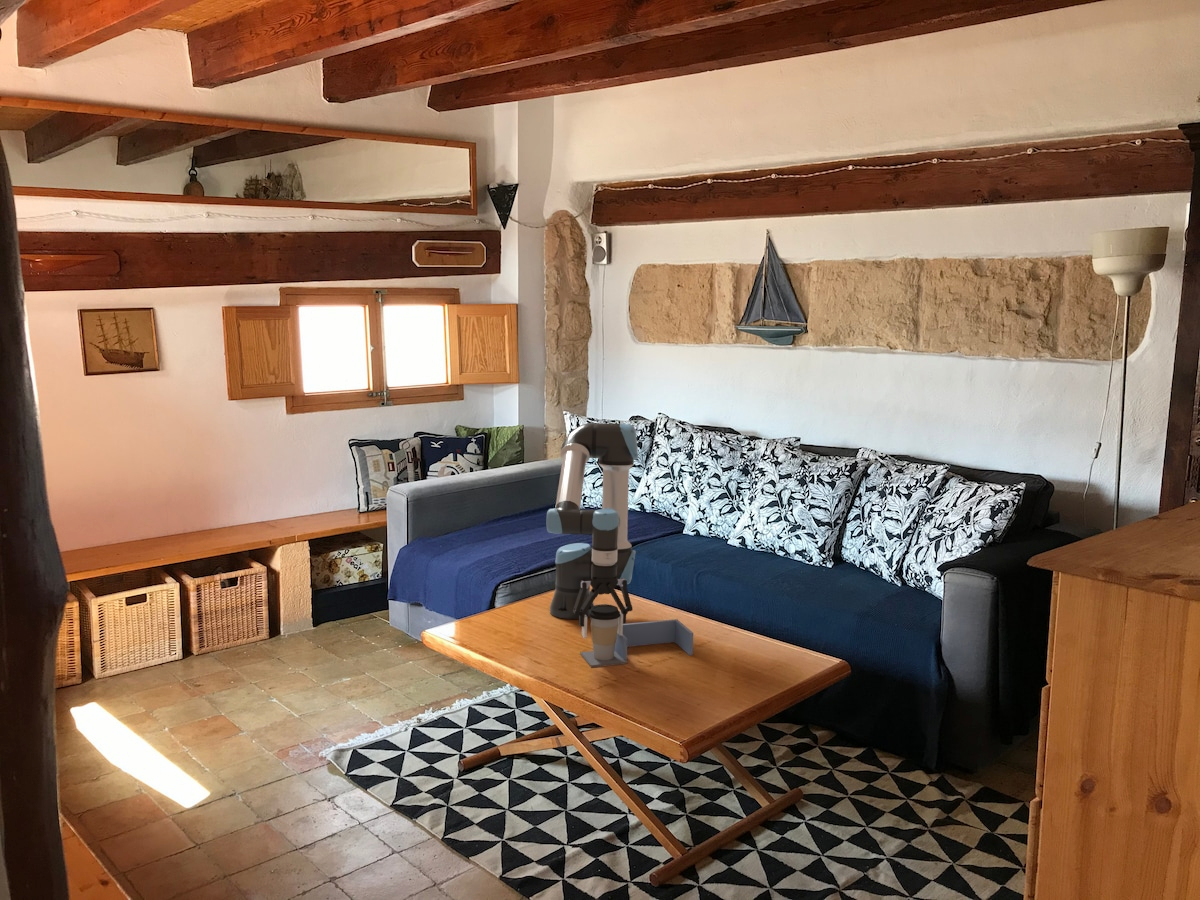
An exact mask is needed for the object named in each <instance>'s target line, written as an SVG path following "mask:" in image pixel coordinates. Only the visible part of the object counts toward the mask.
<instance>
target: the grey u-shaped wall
mask: <svg viewBox="0 0 1200 900" xmlns="http://www.w3.org/2000/svg"><path fill="white" fill-rule="evenodd" d="M669 643H675V644H676V645H677V646H678V647H680V648H681V650H683V651H684V652H685V653H686V654H687V655H688V656H693V655H694V632H693V631H692V630H690V629H689V628H688V627H687V626H686V625H685V624H684V623H682V622H681V621H680V620H679V619H678V618H677V619H666V620H653V621H642V622H631V623H630V622H629V623H625V624H623V636H620V635H619V634H618V633H617V639H616V643H615V651H616V652H617V653H618V655H619V656H620V657H621V658H622V659H623V660H626V661H627V662H628V647H637V646H647V645H658V644H669Z"/></svg>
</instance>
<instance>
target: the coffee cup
mask: <svg viewBox="0 0 1200 900" xmlns="http://www.w3.org/2000/svg"><path fill="white" fill-rule="evenodd" d="M620 612H621V611H619V607H618V606H616V605H612V604H605V603H603V604H594V606H593V607H592V608H591V610H590V611H589V614H588V615H589V617H588V618H590V631H591V633H590V635H591V643H592V649H593V650H592V651H593V652H594V658H595V659H598V660H611V659H612V658H613V657H614V651H615V643H616V639H617V631H618V618H619V617H620Z"/></svg>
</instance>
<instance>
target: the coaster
mask: <svg viewBox="0 0 1200 900" xmlns="http://www.w3.org/2000/svg"><path fill="white" fill-rule="evenodd" d="M579 654H580V656H581V657H582V658H583V659H584V661H585V662H586V663H587V665H588V666H589V667H590V668H596V667H598V668H599V667H607V666H617V665H628V660H627V661H626V660H623V659H622V658H621V657H620V656H619V655H618V653H617V652H616V651H614V657H613V658H612V659H611V660H598V659H595V658H594V652H593V650H590V651H582V652H581V651H580V653H579Z"/></svg>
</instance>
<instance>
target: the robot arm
mask: <svg viewBox="0 0 1200 900" xmlns="http://www.w3.org/2000/svg"><path fill="white" fill-rule="evenodd" d="M637 440H638V438H637V433H636V428H635V426H634V425H632V424H629V423H628V424H627V423H599V422H598V423H595V422H588V423H584V424H581V425H579V426H577V427H576V428H574V429H573V430H571V432H570V433H569V434H568V435H567V436H566V438H565V439H564V440H563V442H562V444H561V449H560V458H561V469H560V474H559V482H558V486H557V494H556V502H555V507H554V508H549V509H548V510H547V512H546V518H545V519H546V521H545V522H546V531H547V533H550V534H558V535H585V536H586V535H587V536H592V545H591V544H589V543H584V542H577V543H576V542H575V543H568V544H566V545H563V546H560V547H559V548H557V550H556V554H555V561H554V564H555V590H554V594H553V596H552V599H551V602H550V605H549V613H550V614H551V615H552V616H554V617H555V618H558V619H559V618H560V619H565V620H578V625H579V627H581V636H582V637H583V639H587V638H588V618H590V617H589V615H588V614H589V611H590V610H591V608H592V607H593V606H595V602H594V601H595V599H596V598H597V597H598V596H600V595H601V596H602V595H611V596H612V598H613V600H614V601H615V604H616V605H617V608H618V610H620V611H619V612H620V617H619V618H618V631H617V633H618V634H619V635H620V636H623V624H627V614H628V613H629V612H632V611H633V606H632V602H631V599H630V595H629V591H628V588H627V587H628V585H629V584H630V583H631V582H632V577H633V571H634V566H635V559H636V558H635V557H636V552H637V551H636V550H634V549H632V544H631V542H629V540H628V526H629V525H628V522H629V521H628V519H629V517H628V515H629V478H630V475H629V473H630V472H629V471H630V469H631V468H632V467H633V466H634V462H635V461H636V460H638V459H639V453H638V452H639V450H638V449H639V448H638V441H637ZM590 459H598V465H599V467H601V468H602V504H601V505H602V507H601V508H600V509H581V503H582V496H583V495H582V494H583V487H584V478H585V471H586V464H587V463H588V462H589V460H590ZM617 586H619V587H620V591H621V594H622V597H623V598H622V599H623V602H624V604H625V605H624V604H623V602H622V600H621V599H620V597H619V595H618V593H617V591H616V590H615V588H616V587H617ZM590 587H591V589H590Z"/></svg>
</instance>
